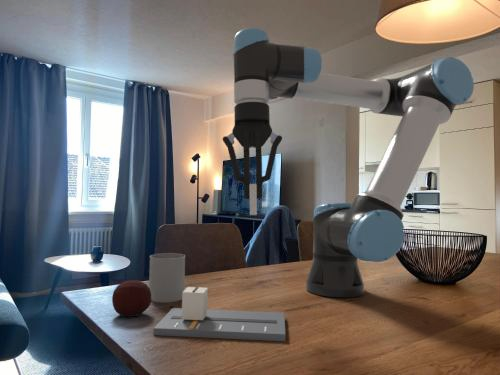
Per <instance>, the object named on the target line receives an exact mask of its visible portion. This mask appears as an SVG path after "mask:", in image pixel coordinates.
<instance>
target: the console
mask: <svg viewBox="0 0 500 375" xmlns="http://www.w3.org/2000/svg"><path fill="white" fill-rule="evenodd" d="M285 321H286V320H285V312H281V311H280V312H278V311H277V312H276V311H255V310H231V309H211V308H209V309H208V308H207V315H206V316H205V318H204V320H185V319H182V307H172V308H171V309H170V310H169V312H167V314H165V315H164V316H163V318H162V319H161V320H160V321H159V322H158V323H157V324H156V325H155V326H154V327H153V336H165V337H166V336H167V337H183V338H184V337H187V338H208V339H225V340H226V339H230V340H247V341H249V340H250V341H265V342H266V341H268V342H286V336H287V335H286V322H285Z"/></svg>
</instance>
